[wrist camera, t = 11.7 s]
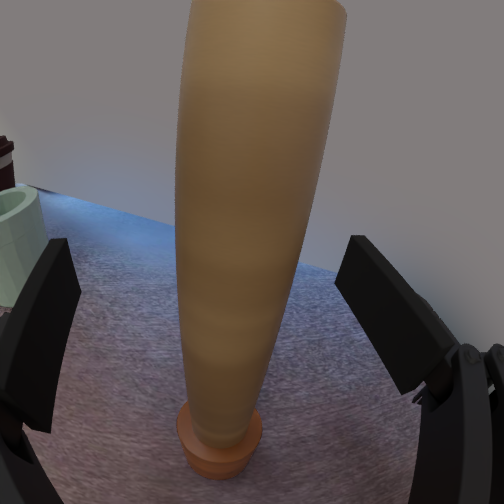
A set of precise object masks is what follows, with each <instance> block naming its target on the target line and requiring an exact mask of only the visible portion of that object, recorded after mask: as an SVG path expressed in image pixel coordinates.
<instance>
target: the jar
mask: <svg viewBox="0 0 504 504" xmlns="http://www.w3.org/2000/svg"><path fill="white" fill-rule="evenodd" d="M48 243H49V241H48V237H47V233H46V229H45V224H44V220H43V216H42V211H41V206H40V201H39V195H38V191H37V189H36V188H33V187H30V186H21V187H15V188H10V189H7V190H4V191H1V192H0V306H3V307H14V304H15V302H16V300H17V298H18V296H19V294H20V292H21V290H22V288H23V286H24V284H25V283H26V281H27V279H28V277H29V275H30V273H31V271H32V270H33V268H34V266H35V264H36V263H37V261H38V259H39V257H40V256H41V254H42V252H43V251H44V249H45V248H46V246H47V244H48Z"/></svg>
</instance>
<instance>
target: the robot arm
mask: <svg viewBox="0 0 504 504" xmlns="http://www.w3.org/2000/svg"><path fill="white" fill-rule="evenodd" d="M335 285H336V287H337V288H338V290H339V291H340V293H341V294H342V296H343V298H344V299H345V301H346V302H347V304H348V305H349V307H350V309H351V310H352V312H353V313H354V315H355V317H356V318H357V320H358V322H359V323H360V325H361V326H362V328H363V330H364V331H365V333H366V335H367V336H368V338H369V340H370V341H371V343H372V345H373V346H374V348H375V350H376V351H377V353H378V355H379V357H380V358H381V360H382V362H383V363H384V365H385V367H386V369H387V370H388V372H389V374H390V376H391V377H392V379H393V381H394V383H395V385H396V386H397V388H398V390H399V392H400V394H401V395H403V394H406V393H408V392H410V391H412V390H415V389H416V388H417V387H418V386H419V385H420V384H421V383H422V382H423V381H424V382H425V383H426V386H425V387H424V388H423V389H422V390H421V391H420V392H419V393H418V394H417V395H416V396H415V397H414V398H413V401H412V403H415V402H416V401H417V400H418V399H419V398H420V397H421V396H422V398H421V399H420V400H419V402H418V403H417V404H419V405H422V408H421V423H420V434H419V443H418V451H417V459H416V465H415V471H414V477H413V483H412V488H411V492H410V497H409V501H408V504H504V346H502V345H500V344H494V345H493V346H492V347H491V348H490V350H489V351H488V352H481V353H480V352H479V351H478V350H477V349H476V348H475V347H474V346H472V345H470V344H462V345H460V344H459V342H458V341H457V340H456V338H455V337H454V335H453V334H452V333H451V332H450V330H449V329H448V328H447V326H446V325H445V324H444V322H443V321H442V320H441V318H439V316H438V315H437V314H436V312H435V311H433V309H432V307H431V306H430V305H429V304H428V302H427V301H426V300H425V299H423V298H422V297H421V296H420V295H418V294H417V293H415V292H414V290H413V289H412V288H411V287H410V286H409V284H408V283H407V282H406V281H405V280H404V278H403V277H402V276H401V275H400V274H399V273H398V271H397V270H396V269H395V268H394V267H393V266H392V265H391V264H390V262H389V261H388V260H387V259H386V258H385V257H384V256H383V255H382V254H381V253H380V252H379V251H378V249H377V248H376V247H375V246H374V245H373V244H372V243H371V242H370V241H369V240H368V239H367V238H366V237H365V236H364V235H351V237H350V241H349V243H348V246H347V249H346V252H345V255H344V258H343V261H342V264H341V266H340V269H339V272H338V275H337V277H336V280H335ZM80 295H81V289H80V285H79V282H78V279H77V275H76V272H75V268H74V265H73V261H72V257H71V253H70V249H69V245H68V241H67V238H56V239H51V240H50V241H49V243H48V244H47V246H46V248H45V249H44V251H43V252H42V254H41V256H40V257H39V259H38V261H37V263H36V264H35V266H34V268H33V270H32V271H31V273H30V275H29V277H28V279H27V281H26V283H25V284H24V286H23V288H22V290H21V292H20V294H19V296H18V298H17V300H16V302H15V304H14V307H13V309H12V311H11V313H7V312H5V313H4V314H3V315H2V316H1V317H0V504H64V503H63V501H62V500H61V498H60V497H59V495H58V493H57V492H56V490H55V489H54V487H53V485H52V484H51V482H50V480H49V479H48V477H47V475H46V473H45V472H44V470H43V468H42V466H41V464H40V462H39V460H38V458H37V456H36V454H35V452H34V450H33V448H32V446H31V444H30V442H29V440H28V438H27V436H26V434H25V432H24V431H23V430H22V426H23V422H24V423H25V424H26V425H27V426H28V427H29V428H31V429H32V430H36V431H41V432H45V433H50V434H51V426H52V417H53V410H54V403H55V396H56V390H57V385H58V379H59V374H60V369H61V365H62V360H63V356H64V352H65V347H66V343H67V339H68V336H69V332H70V328H71V325H72V321H73V318H74V314H75V311H76V308H77V304H78V301H79V298H80ZM492 384H494V387H495V390H494V391H493V392H492V393H491V394H490V395H489V393H488V388H489V387H490V386H491V385H492Z"/></svg>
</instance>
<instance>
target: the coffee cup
mask: <svg viewBox="0 0 504 504" xmlns="http://www.w3.org/2000/svg"><path fill="white" fill-rule="evenodd" d="M12 150H14V143H13V141H8V140H7V138H6V136H0V192H1V191H4V190H7V189H10V188H15V179H14V168H13V160H12V153H11V152H12Z"/></svg>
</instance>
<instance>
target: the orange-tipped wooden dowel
mask: <svg viewBox="0 0 504 504" xmlns="http://www.w3.org/2000/svg"><path fill="white" fill-rule="evenodd" d="M346 19H347V14H346V11H345V9H344V7H343V6H342V5H341V4H340V3H339V2H338V1H336V0H192V3H191V8H190V15H189V21H188V27H187V34H186V42H185V50H184V57H183V65H182V75H181V85H180V96H179V109H178V124H177V141H176V167H175V169H176V170H175V248H176V274H177V293H178V308H179V322H180V333H181V344H182V354H183V363H184V372H185V380H186V388H187V396H188V401H187V402H186V403H185V404H184V405H183V407H182V408H181V410H180V412H179V414H178V417H177V432H178V436H179V439H180V442H181V445H182V448H183V451H184V453H185V456H186V459H187V461H188V463H189V465H190V467H191V468H192V469H193V470H194V471H195V472H196V473H198V474H199V475H201V476H203V477H205V478H208V479H213V480H225V479H229V478H232V477H234V476H236V475H238V474H239V473H240V472H242V471H243V469H244V468H245V467H246V465H247V463H248V462H249V460H250V458H251V456H252V454H253V453H254V451H255V449H256V447H257V445H258V443H259V441H260V439H261V436H262V421H261V418H260V415H259V413H258V411H257V410H256V408H255V405H256V402H257V399H258V396H259V393H260V390H261V387H262V384H263V381H264V378H265V375H266V371H267V368H268V365H269V362H270V359H271V355H272V352H273V349H274V346H275V342H276V339H277V336H278V332H279V329H280V325H281V322H282V319H283V315H284V312H285V308H286V305H287V301H288V297H289V294H290V290H291V286H292V283H293V279H294V275H295V272H296V268H297V264H298V260H299V256H300V252H301V248H302V245H303V240H304V237H305V233H306V228H307V224H308V220H309V216H310V212H311V208H312V203H313V199H314V195H315V190H316V185H317V181H318V177H319V172H320V168H321V163H322V159H323V153H324V149H325V144H326V139H327V134H328V129H329V124H330V119H331V113H332V108H333V102H334V97H335V91H336V85H337V80H338V74H339V67H340V61H341V55H342V48H343V41H344V34H345V27H346Z"/></svg>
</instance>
